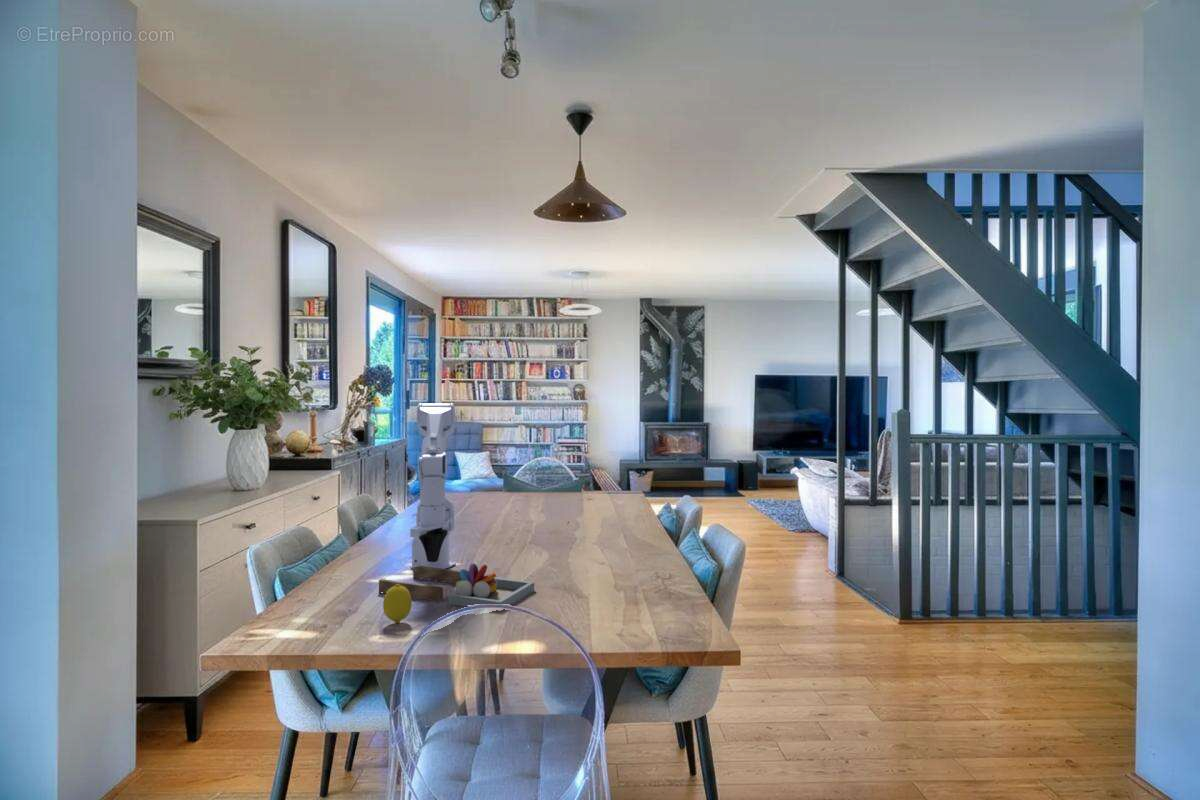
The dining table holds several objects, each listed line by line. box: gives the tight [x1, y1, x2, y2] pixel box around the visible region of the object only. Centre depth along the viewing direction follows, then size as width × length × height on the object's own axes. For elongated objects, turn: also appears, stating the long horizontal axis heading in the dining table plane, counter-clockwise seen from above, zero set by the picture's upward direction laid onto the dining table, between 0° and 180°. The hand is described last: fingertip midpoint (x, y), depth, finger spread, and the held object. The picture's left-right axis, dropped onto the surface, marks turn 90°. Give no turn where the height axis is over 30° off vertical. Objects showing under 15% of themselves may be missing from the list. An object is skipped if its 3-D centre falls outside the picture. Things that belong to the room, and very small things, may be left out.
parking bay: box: [448, 577, 535, 607], centre depth 152 cm, size 13×16×2 cm
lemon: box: [382, 584, 413, 624], centre depth 135 cm, size 6×6×8 cm
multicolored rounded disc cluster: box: [455, 563, 498, 599], centre depth 154 cm, size 8×10×7 cm
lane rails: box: [378, 566, 462, 602], centre depth 158 cm, size 17×14×3 cm
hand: (432, 561), depth 158 cm, fingers closed
